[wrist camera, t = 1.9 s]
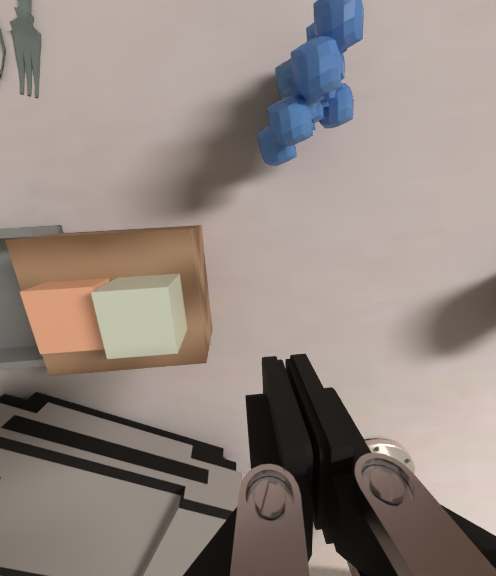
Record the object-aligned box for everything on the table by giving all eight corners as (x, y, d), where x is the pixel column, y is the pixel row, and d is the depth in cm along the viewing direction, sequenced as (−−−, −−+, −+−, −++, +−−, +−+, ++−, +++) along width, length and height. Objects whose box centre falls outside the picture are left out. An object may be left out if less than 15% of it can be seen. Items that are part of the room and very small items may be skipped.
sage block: (187, 329, 22) (177, 353, 18) (129, 333, 22) (107, 359, 18) (179, 273, 21) (167, 287, 17) (117, 277, 20) (90, 292, 16)
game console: (-4, 372, 30) (-88, 428, 22) (240, 447, 35) (242, 513, 27) (-32, 492, 35) (-109, 573, 27) (187, 542, 40) (176, 622, 32)
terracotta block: (120, 334, 22) (107, 349, 19) (61, 338, 21) (40, 354, 19) (108, 278, 20) (92, 286, 18) (45, 282, 20) (19, 291, 18)
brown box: (212, 329, 30) (206, 362, 23) (91, 338, 29) (48, 375, 22) (201, 225, 26) (190, 228, 20) (64, 233, 26) (4, 239, 19)
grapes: (296, 197, 26) (346, 183, 15) (237, 164, 25) (242, 121, 13) (356, 79, 23) (476, -51, 12) (294, 36, 22) (361, -154, 11)
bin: (91, 344, 29) (70, 364, 26) (-18, 353, 29) (-57, 374, 25) (61, 225, 25) (30, 227, 22) (-67, 232, 25) (-121, 235, 21)
